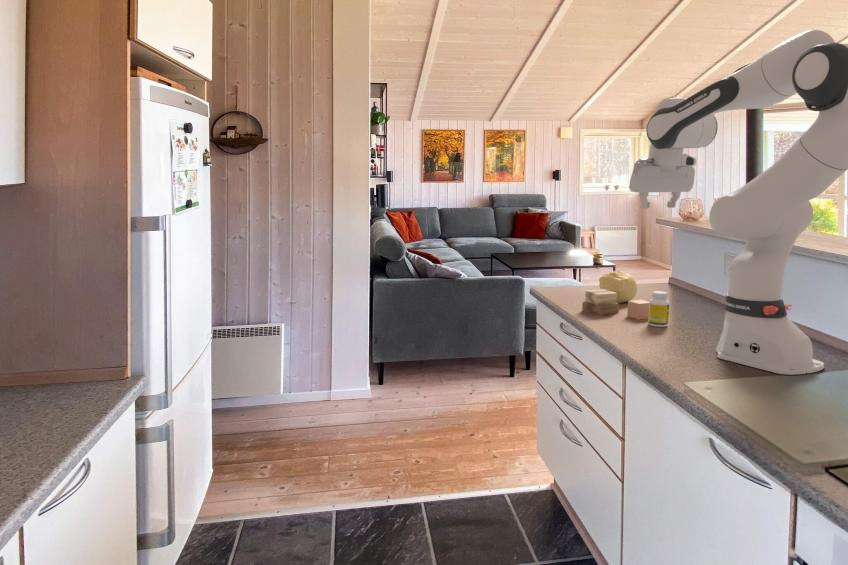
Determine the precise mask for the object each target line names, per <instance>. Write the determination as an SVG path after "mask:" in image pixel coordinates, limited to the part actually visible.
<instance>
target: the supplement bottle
mask: <svg viewBox="0 0 848 565" xmlns="http://www.w3.org/2000/svg"><path fill="white" fill-rule="evenodd" d="M651 297H652V298H651V299H650V300H649V301H648V302H649V317H648V319H647V320H648V321H647V323H648V325H649V326H651V327H656V328H658V327H659V328H665V327H668V325H669V312H670V301H669V300H668V299H667V298H668V292H666V291H662V290H655V291H652V295H651Z"/></svg>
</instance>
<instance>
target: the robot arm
mask: <svg viewBox="0 0 848 565" xmlns="http://www.w3.org/2000/svg"><path fill="white" fill-rule="evenodd" d="M796 94H798V96H799V97H800V98H801V99H803V101H804V104H805V106H806V108H807V109H808V110H809V111H813V112H818V115H817V118H816V119H815V120H814V122H813V124H811V125H810V127H808V128H807V130H806V131H805V132H804V133H803V134H802V135H801V136H800V137H799V138H798V139H797V140H796V141H795V142H794V143H793V144H792V145H791V146H790V147H789V148H788V150H786V152H785V153H784V154H782V156H781V157H780V158H778V160H776V161H775V162H774V163H773V164H772V165H771V166H770V167H768V168H767V169H766V170H764V171H763V172H761V173H760V174H758V175H757V176H756V177H754V178H753V179H751V180H750V181H748V182H747V183H746V184H744V185H743V186H741V187H740V188H738V189H736V190H734V191H732V192H731V193H729V194H726V195H724V196H721V197H720V198H717V200H716V201H715V202H713V204H712V206H711V208H710V210H709V223H710V224H709V225H710V227H711V229H712V231H713V232H714V233H715V234H716V235H718V236H719V237H721V238H725V239H731V240H735V241H746V242H745V244H744V247H743V248H742V250H741V252H740V253H739V254H738V255H736V257H735V258H734V259H733V260H732V261H731V263H730V266H729V273H728V274H729V276H728V286H727V287H728V288H727V294H726V295H725V299H724V310H725V316H724V321H723V326H722V331H721V335H720V338H719V340H718V343H717V346H716V348H715V351H716V353H717V358H718V359H721V360H725V361H728V362H732V363H737V364H740V365H744V366H747V367H752V368H756V369H759V370H764V371H766V372H772V373H774V374H779V375H791V376H793V375H804V374H806V373H807V374H812V373H816V372H819V371H822V370H823V369H824V368H825V363H824V362H823V361H820V360H819V359H815V358H813V357H814V354H813V352H814V351H813V344H812V340H811V339H810V337H809V336H807V335H806V333H805V332H803V331H802V330H801V329H800V327H798V326H797V325H796V324H795V323H794V322H793V321H792V320H791V319H790V318H789V317H788V316H787V315H788V312H787V311H789V310H792V308H791V307H792V306H793V304H785V302H784V300H783V298H782V293H783V292H782V290H783V283H784V277H785V276H784V275H785V269H786V265H787V262H788V259H789V255H791V254H790V253H791V251H792V249H793V247H794V245H795V243H796V241H797V240H798V238H799V237H800V235H801V233H803V232H804V231H806V229H807V228H808V227H809V226H810V225H811V223H812V220H813V218H814V209H813V205H812V202H811V201H810V200H813V199H815V198H817V197H819V196H820V195H822V193H824V192H825V191H826V190H827V189H828V188H830V186H832V184H833V183H834V182H836V181H838V179H839V178H840V177H841V176H842V175H843V174H844V173H845V172H846V171H847V170H848V43H839V42H836V41H835V40H834V38H833V37H832V36H831V35H830V34H829V33H828V32H825V31H823V30H819V29H810V30H807V31H804V32H802V33H799V34H797V35H794V36H793V37H791V38H789V39H787V40H786V41H783V42H782V43H780V44H778V45H776V46H775V47H773V48H772V49H770V50H769V51H768V52H766V53H764V54H763V55H761V56H760V57H758V58H757V59H756V60H754V61H752V62H751V63H749V64H747V65H746V66H744V67H741V69H739V70H737V71H736V72H735V71H734V72H733V73H732V74H729V75H727V76H726V77H723V78H721V79H719V80H717V81H716V82H713V83H711V84H710V85H708V86H706V87H704V88H703V89H700V91H697V92H696V93H694V94H693V95H691V96H690V97H687V98H686V97H680V96H679V97H677V96H676V97H669V98H665V99H663V100H660V102H658V104H657V107H656V109H655V112H654V113H653V115H652V116H651V117H650V118H649V120H648V122H647V125H646V136H647V139H648V141H649V142H650V145H649V150H648V158H639V159H638V160H637V161H636V162H635V163H634V164H633V168H632V172H631V176H630V180H629V185H628V189H629V191H630V192H633V193H638V197H639V199H640V201H641V204H640V205H641V206H640V207H641V209H644V210H645V209H649V208H650V207H651V206H650V205H651V202H649V201H648V198H647V197H649V194H650V193H671V198H670V200H668V201H667V203H666V207H667V208H670V209H672V208H673V209H675V208H676V204H677V202H678V200H679V199H680V197H681V193H689V192H691V190H692V189H693V187H694V182H695V175H696V170H695V168H694V167H695V166H696V164H697V158H696V157H693V156H692V155H689V154H688V153H686V152H684V150H685V149H701V148H706V147H708V146H709V145H710V144H711V143H712V142H713V141H714V139H715V138H716V135H717V133H718V126H719V125H718V120H717V118H716V116H715V115H716V114H718V113H721V112H728V111H737V110H756V109H765V108H768V107H772V106H774V105H777V104H779V103H782V102H784V101H786V100H787V99H790V98H791V97H793V96H794V95H796ZM789 307H790V308H789Z"/></svg>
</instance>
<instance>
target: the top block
mask: <svg viewBox="0 0 848 565" xmlns="http://www.w3.org/2000/svg"><path fill="white" fill-rule="evenodd" d="M584 298H585V299H584V302H589V303H592V304H594V305H608V304H616V300H617V293H615V292H612V291H608V290H605V289H602V290H601V289H591V290H589V289H588V290H585V297H584Z"/></svg>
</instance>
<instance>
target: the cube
mask: <svg viewBox="0 0 848 565" xmlns="http://www.w3.org/2000/svg"><path fill="white" fill-rule="evenodd" d="M649 302H650V301H648V300H644V299H634V300H633V299H632V300H630V301H627V314H626V316H627V317H628V318H632V319H634V318H635V320H640V319H641V320H648V317H649Z"/></svg>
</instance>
